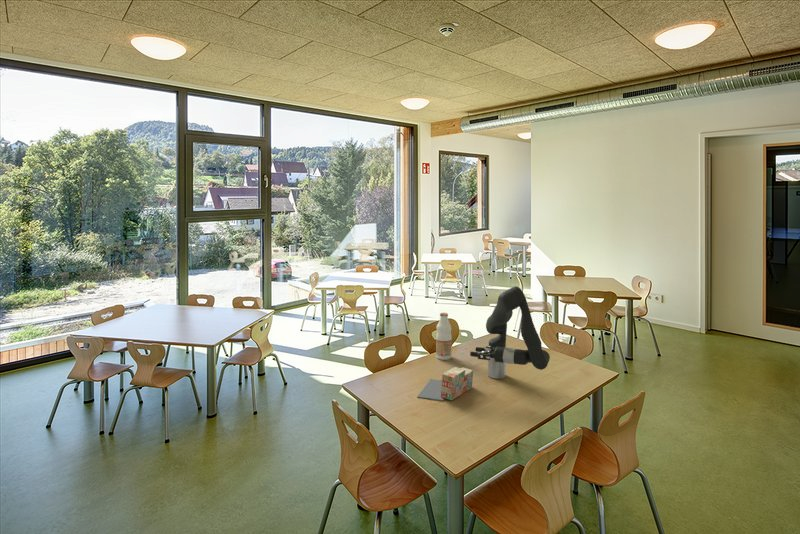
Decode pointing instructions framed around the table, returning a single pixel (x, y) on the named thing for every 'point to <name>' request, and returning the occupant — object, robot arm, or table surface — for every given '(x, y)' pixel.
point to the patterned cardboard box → (456, 382)
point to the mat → (432, 390)
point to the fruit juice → (443, 338)
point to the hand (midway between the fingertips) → (473, 351)
